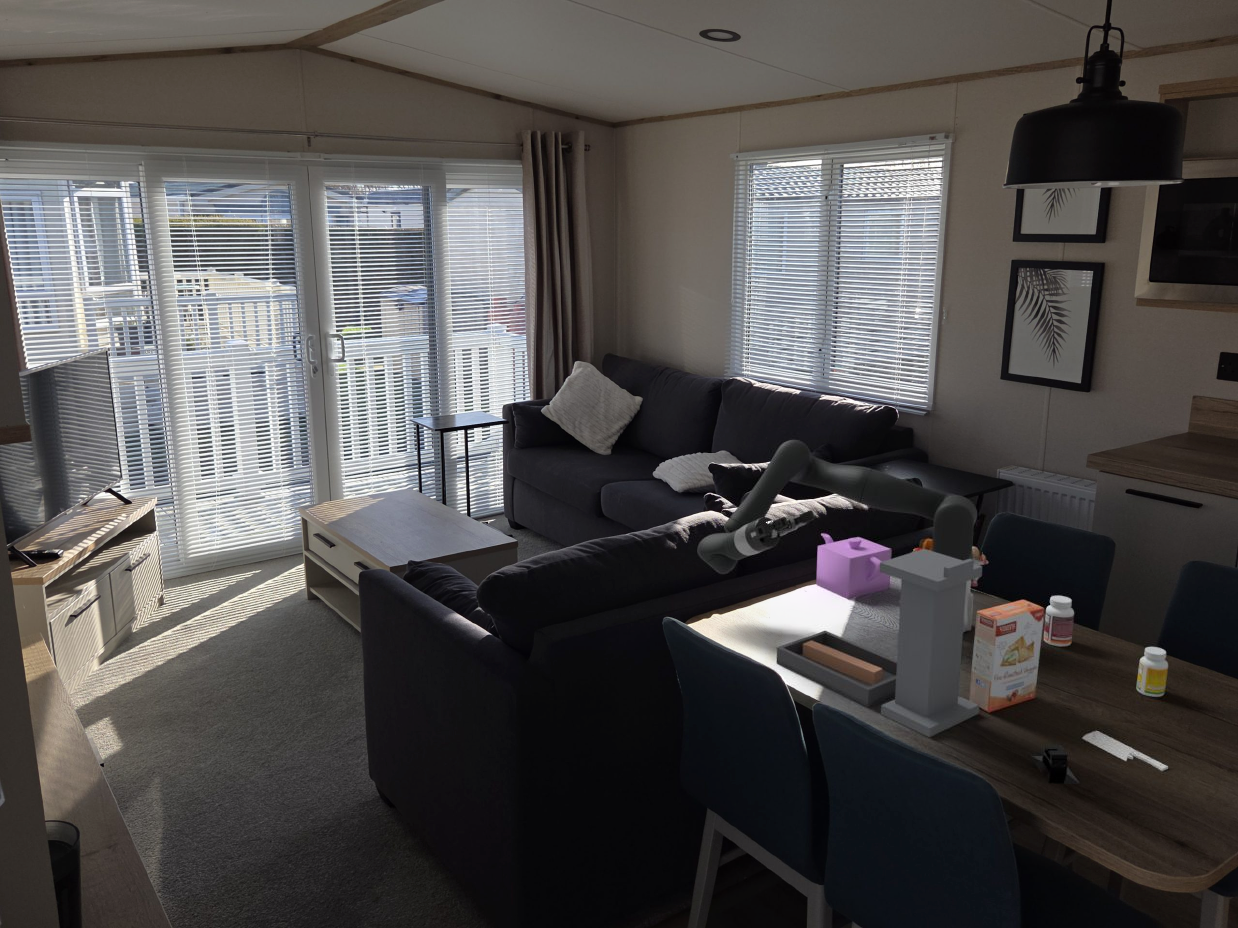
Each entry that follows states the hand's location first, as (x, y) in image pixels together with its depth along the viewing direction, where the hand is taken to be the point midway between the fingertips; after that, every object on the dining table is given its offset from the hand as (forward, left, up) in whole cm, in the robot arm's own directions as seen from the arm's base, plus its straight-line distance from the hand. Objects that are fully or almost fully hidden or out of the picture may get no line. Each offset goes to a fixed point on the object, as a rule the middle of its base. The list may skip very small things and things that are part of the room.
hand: (799, 517), depth 225 cm
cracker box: (-37, +29, -34) cm, 58 cm away
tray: (-8, +13, -33) cm, 37 cm away
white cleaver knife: (-49, +52, -34) cm, 79 cm away
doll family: (-54, -40, -34) cm, 75 cm away
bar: (-7, +12, -32) cm, 35 cm away
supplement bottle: (-70, +29, -34) cm, 83 cm away
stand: (-18, +32, -33) cm, 49 cm away
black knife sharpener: (-33, +56, -34) cm, 74 cm away
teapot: (-27, -41, -34) cm, 60 cm away
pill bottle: (-64, +2, -33) cm, 72 cm away
